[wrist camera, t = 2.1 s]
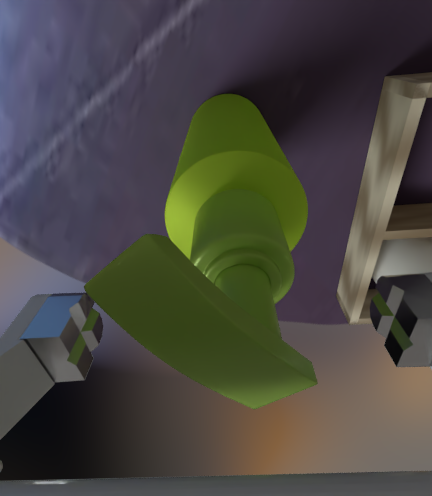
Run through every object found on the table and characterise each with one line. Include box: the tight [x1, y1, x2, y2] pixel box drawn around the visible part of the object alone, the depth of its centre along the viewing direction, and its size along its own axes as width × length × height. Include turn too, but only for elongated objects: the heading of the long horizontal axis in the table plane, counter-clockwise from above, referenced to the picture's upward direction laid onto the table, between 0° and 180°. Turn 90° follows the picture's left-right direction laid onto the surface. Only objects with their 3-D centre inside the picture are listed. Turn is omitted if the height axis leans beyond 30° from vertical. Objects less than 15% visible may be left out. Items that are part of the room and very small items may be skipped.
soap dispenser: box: [84, 94, 317, 409], centre depth 14 cm, size 6×7×20 cm
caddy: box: [336, 72, 432, 325], centre depth 25 cm, size 21×11×4 cm, turn 5°
